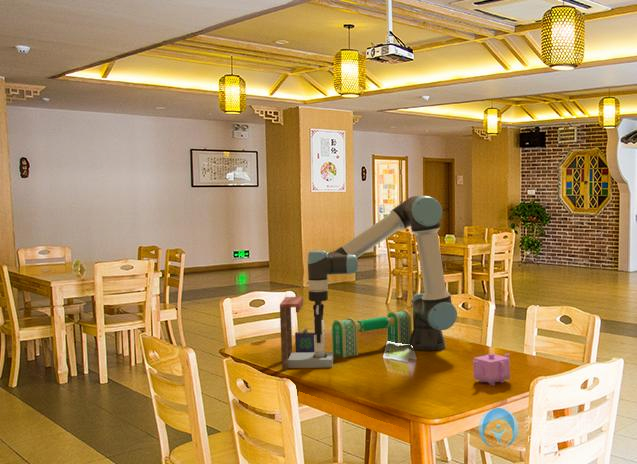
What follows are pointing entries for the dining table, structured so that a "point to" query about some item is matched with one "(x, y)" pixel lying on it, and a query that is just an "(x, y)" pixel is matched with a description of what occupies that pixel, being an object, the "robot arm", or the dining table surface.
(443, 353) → the dining table surface
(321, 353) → the peg
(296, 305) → the curved red bench
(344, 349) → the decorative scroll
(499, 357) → the pink square teapot
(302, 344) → the flask
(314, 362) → the socket block
